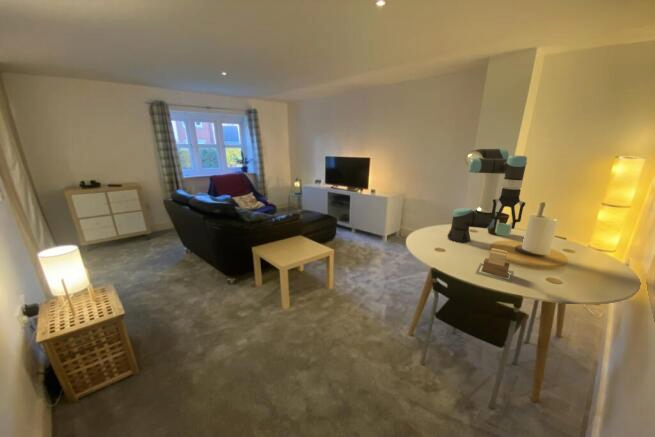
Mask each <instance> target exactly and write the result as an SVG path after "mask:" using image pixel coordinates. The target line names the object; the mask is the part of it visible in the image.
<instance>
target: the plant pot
mask: <svg viewBox="0 0 655 437" xmlns="http://www.w3.org/2000/svg"><path fill="white" fill-rule="evenodd" d="M498 212H499V211H495V213H497V214H498ZM509 218H510V214H508V213H505V212H501V214H500V216H499V218H498V219H499V223H504V224H508V221H509ZM495 229H496V226H494V227H493V228H491V229H487V233H488V234H490V235H492V236H499V235H498V234H496V233H495Z"/></svg>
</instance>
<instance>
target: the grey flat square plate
mask: <svg viewBox="0 0 655 437" xmlns="http://www.w3.org/2000/svg"><path fill="white" fill-rule="evenodd" d="M483 264H484V263H482V262H481V263H479V265H478V267H477V269H476V271H475V272H474V274H476V275H478V276H483V277H486V278H490V279H494V280H498V281H501V282H505V283H509V284H512V283H513V277H514V274H515V271H514V270H511V269H508V274H507V278H506V277H502V276H498V275H495V274H491V273H487V272H483V271H482V270H483Z"/></svg>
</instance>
